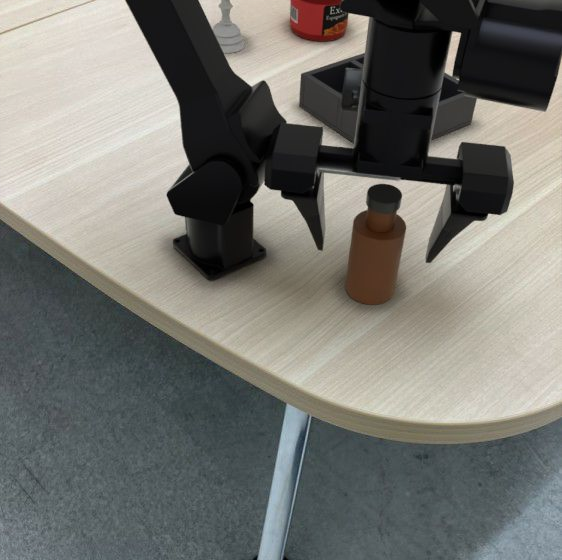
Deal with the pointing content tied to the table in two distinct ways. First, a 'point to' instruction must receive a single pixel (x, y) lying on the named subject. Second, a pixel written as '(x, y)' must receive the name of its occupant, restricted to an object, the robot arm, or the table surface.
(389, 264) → the spice bottle
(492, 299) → the table surface
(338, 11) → the canned food
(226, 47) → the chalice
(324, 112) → the holder
